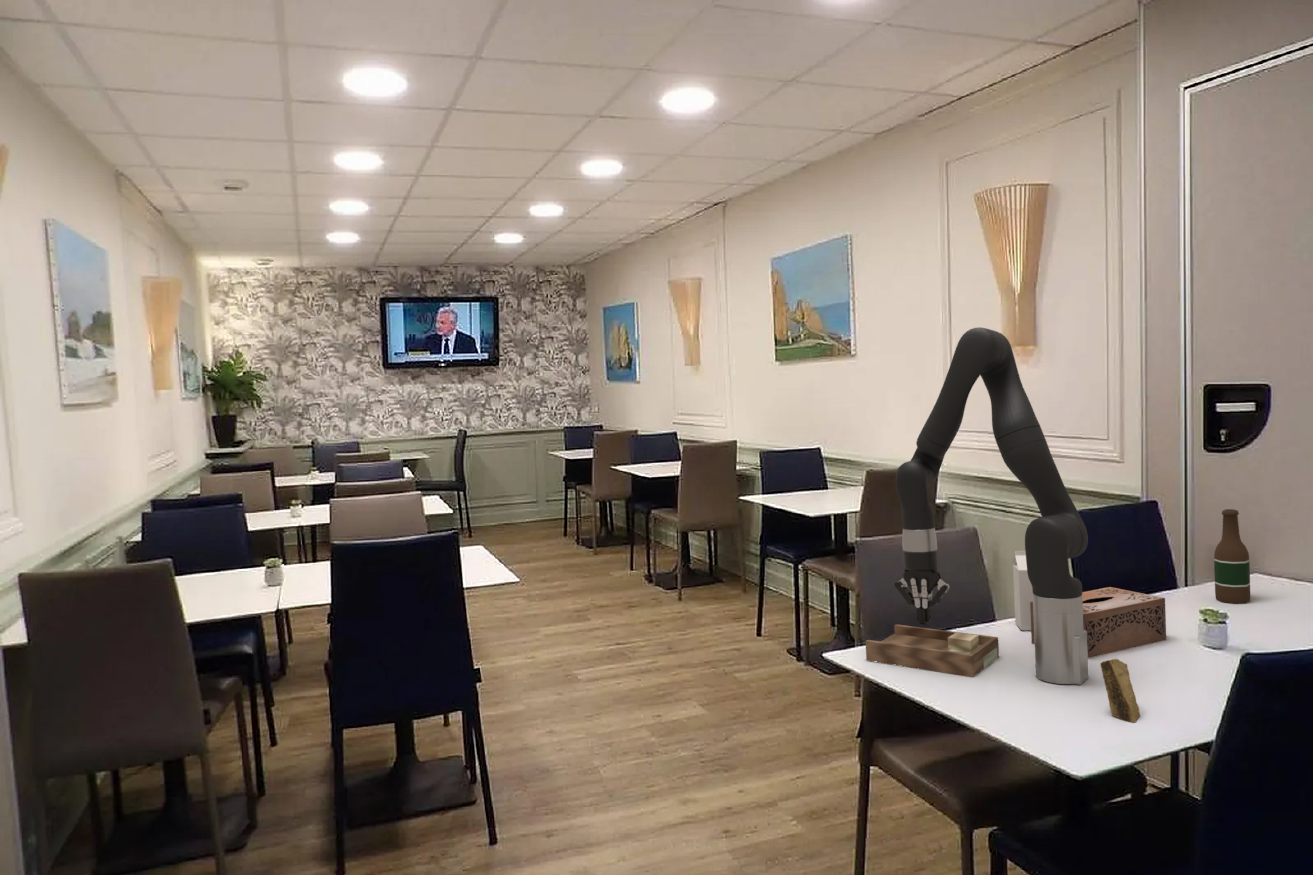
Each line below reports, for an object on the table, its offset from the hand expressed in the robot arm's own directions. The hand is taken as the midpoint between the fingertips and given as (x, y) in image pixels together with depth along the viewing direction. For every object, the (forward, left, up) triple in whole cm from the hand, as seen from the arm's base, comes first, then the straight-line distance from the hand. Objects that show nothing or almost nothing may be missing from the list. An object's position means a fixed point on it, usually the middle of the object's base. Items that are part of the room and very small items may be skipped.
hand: (924, 623), depth 201 cm
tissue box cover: (-30, -27, -8) cm, 41 cm away
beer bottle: (-50, -81, -7) cm, 95 cm away
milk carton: (-14, -33, -7) cm, 36 cm away
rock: (-45, +16, -7) cm, 48 cm away
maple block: (-9, 0, -5) cm, 10 cm away
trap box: (-3, +3, -7) cm, 8 cm away
